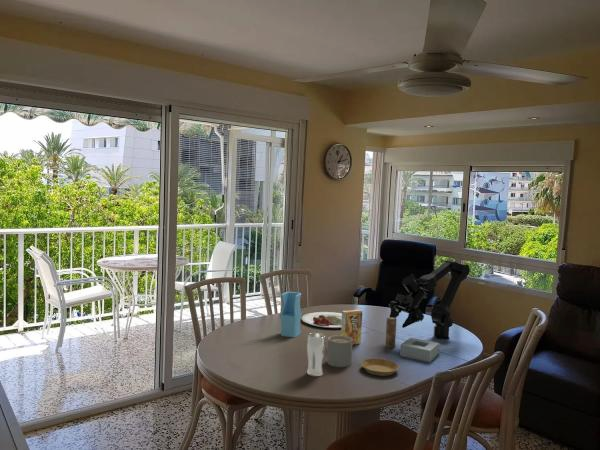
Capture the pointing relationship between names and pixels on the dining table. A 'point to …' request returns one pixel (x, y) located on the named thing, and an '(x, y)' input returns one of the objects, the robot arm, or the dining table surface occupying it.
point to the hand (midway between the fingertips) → (395, 324)
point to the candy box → (352, 325)
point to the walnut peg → (390, 332)
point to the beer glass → (315, 353)
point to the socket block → (419, 349)
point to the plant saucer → (379, 367)
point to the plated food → (323, 319)
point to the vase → (291, 314)
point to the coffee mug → (339, 351)
